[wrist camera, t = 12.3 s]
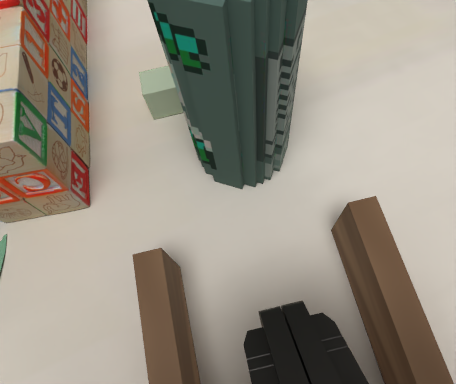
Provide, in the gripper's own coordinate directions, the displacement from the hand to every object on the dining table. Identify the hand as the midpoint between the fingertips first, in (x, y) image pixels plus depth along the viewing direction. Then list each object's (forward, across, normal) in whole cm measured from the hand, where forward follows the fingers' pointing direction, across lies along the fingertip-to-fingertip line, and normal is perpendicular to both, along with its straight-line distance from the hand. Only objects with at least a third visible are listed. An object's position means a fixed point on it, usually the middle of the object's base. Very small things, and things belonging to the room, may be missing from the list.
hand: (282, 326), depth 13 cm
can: (+16, -1, -1) cm, 17 cm away
